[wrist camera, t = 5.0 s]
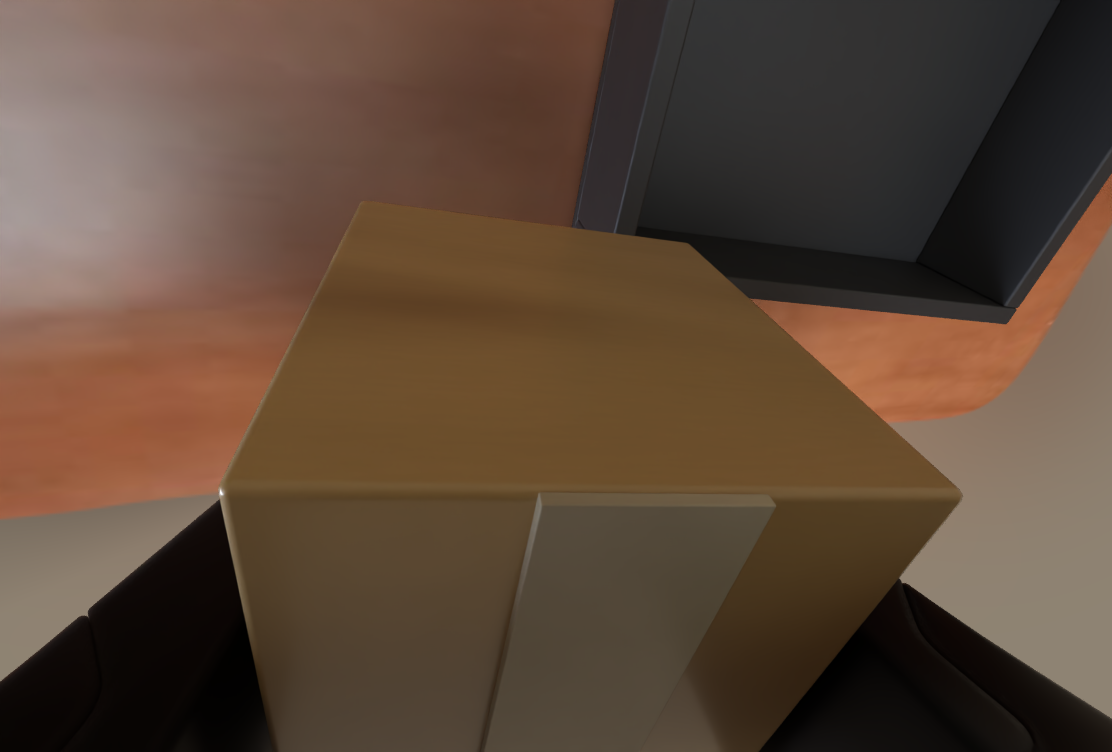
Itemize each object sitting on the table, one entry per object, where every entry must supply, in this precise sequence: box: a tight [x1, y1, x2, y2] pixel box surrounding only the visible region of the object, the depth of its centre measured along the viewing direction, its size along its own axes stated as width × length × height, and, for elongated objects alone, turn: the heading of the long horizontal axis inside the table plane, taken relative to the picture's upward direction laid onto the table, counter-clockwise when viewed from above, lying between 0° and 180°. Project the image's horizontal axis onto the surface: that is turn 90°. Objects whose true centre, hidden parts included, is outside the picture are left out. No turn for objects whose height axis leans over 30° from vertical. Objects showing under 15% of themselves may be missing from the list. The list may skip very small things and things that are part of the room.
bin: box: [572, 0, 1112, 324], centre depth 15 cm, size 11×14×4 cm
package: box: [218, 201, 963, 752], centre depth 7 cm, size 6×4×5 cm
